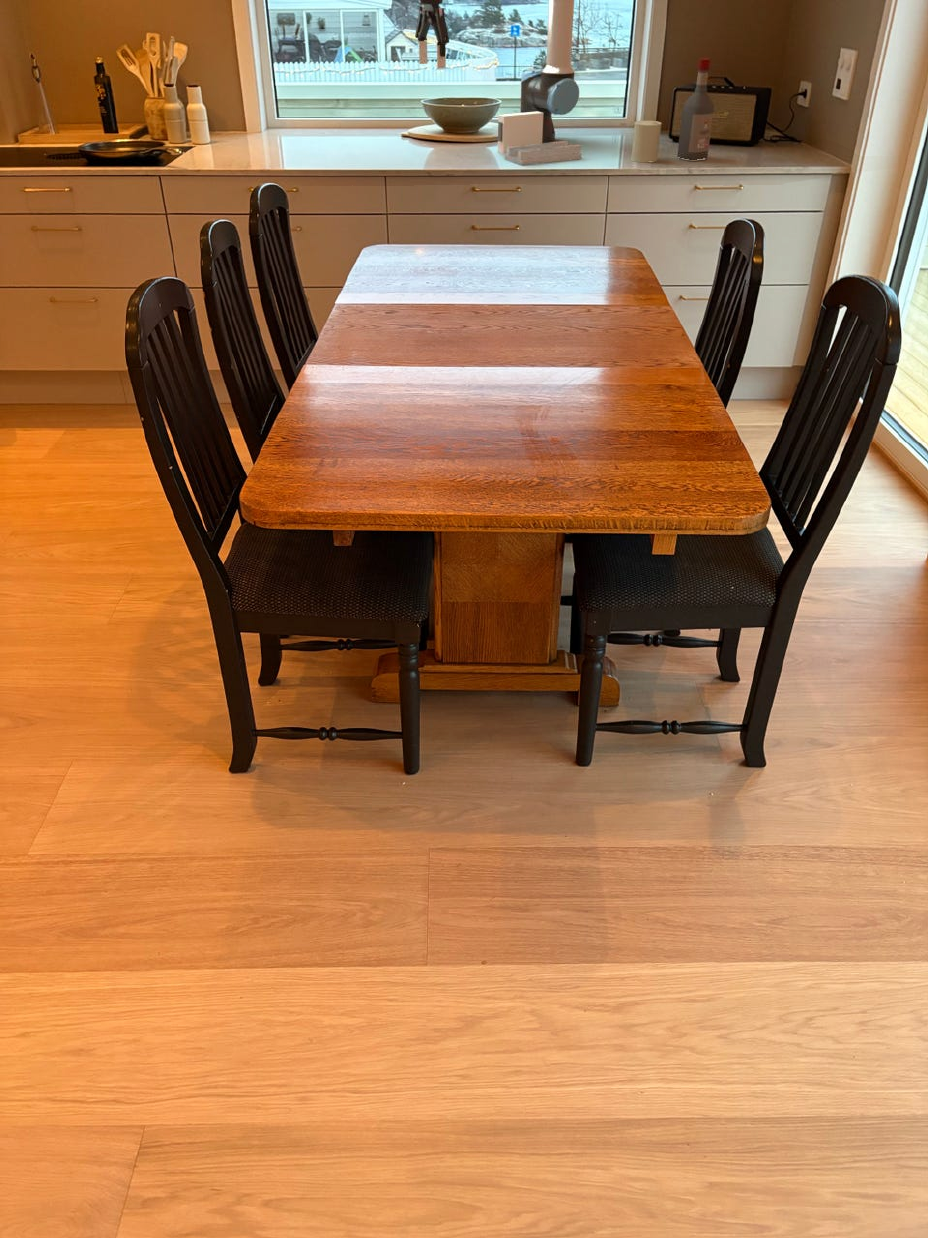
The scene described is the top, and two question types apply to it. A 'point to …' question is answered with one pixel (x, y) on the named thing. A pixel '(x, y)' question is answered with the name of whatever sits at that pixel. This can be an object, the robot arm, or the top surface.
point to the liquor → (697, 118)
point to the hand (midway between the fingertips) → (432, 65)
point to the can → (646, 141)
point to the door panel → (519, 129)
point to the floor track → (542, 152)
